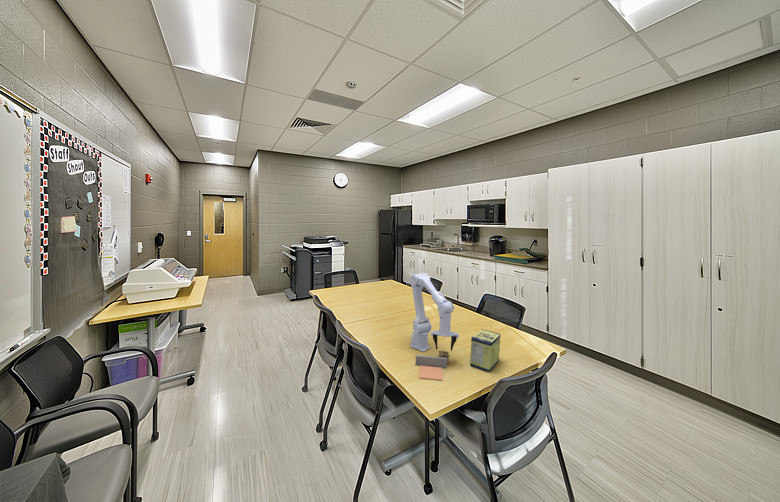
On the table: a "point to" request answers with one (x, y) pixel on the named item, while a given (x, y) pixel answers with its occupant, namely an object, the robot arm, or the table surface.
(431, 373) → the terracotta tile
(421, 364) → the slate screen
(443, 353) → the walnut cube
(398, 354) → the table surface
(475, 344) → the protein box
